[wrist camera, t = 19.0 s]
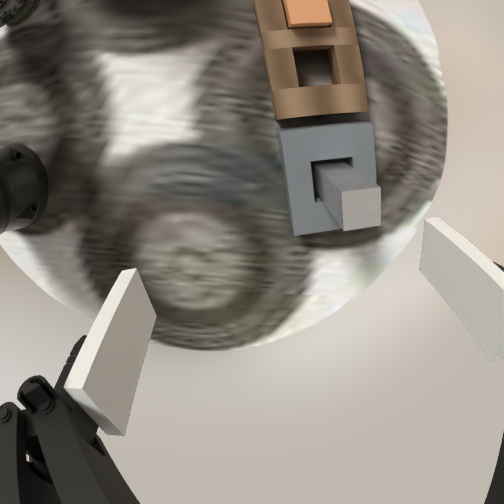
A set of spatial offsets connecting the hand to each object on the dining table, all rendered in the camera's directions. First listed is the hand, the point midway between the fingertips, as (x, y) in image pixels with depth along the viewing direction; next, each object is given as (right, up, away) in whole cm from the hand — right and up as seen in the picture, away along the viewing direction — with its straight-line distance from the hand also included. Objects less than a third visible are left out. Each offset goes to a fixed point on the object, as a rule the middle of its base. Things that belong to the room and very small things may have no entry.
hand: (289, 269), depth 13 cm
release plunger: (+5, +32, +18) cm, 37 cm away
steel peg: (+9, +12, +29) cm, 33 cm away
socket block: (+6, +28, +20) cm, 35 cm away
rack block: (+9, +12, +29) cm, 33 cm away
